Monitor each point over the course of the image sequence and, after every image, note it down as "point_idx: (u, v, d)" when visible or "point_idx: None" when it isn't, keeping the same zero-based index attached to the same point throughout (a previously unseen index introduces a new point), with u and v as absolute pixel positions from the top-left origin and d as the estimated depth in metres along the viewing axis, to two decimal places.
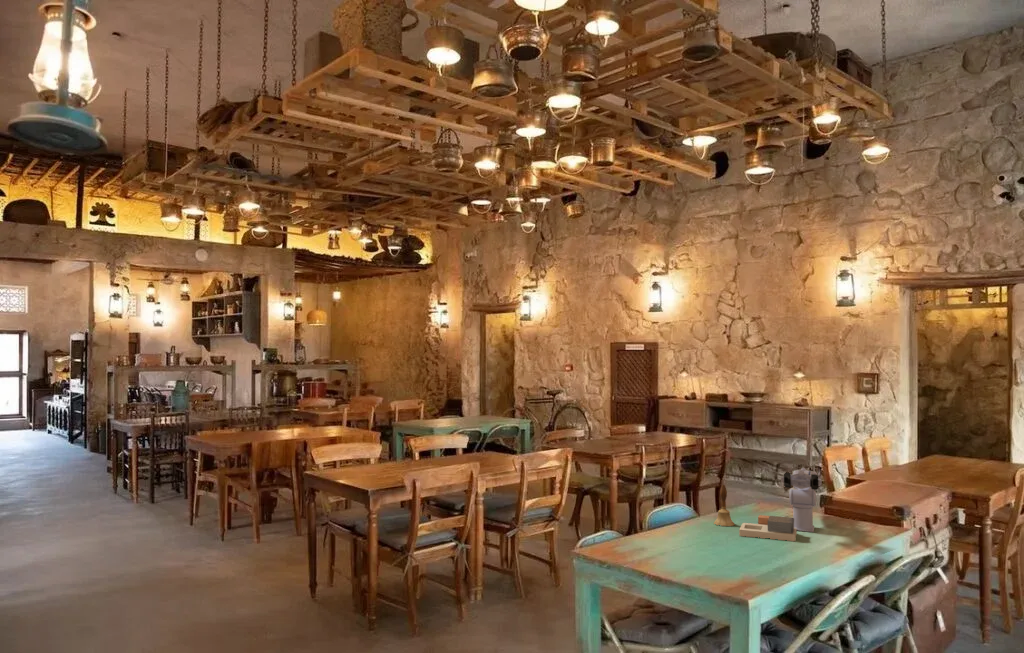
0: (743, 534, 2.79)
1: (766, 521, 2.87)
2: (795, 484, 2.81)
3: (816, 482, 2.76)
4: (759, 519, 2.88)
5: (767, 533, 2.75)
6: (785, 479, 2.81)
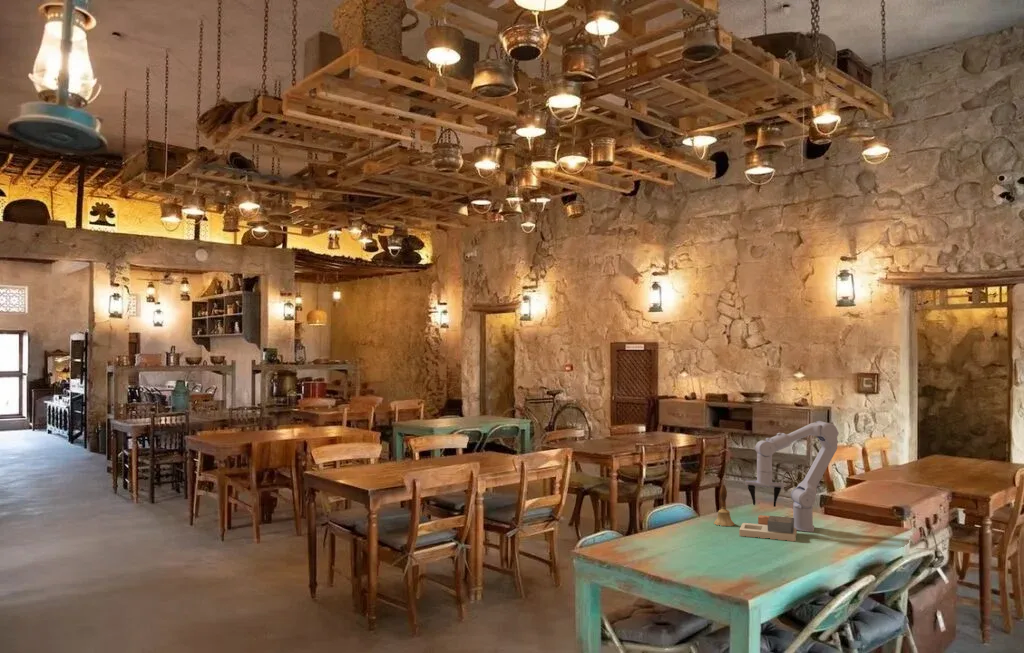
0: (743, 534, 2.79)
1: (766, 521, 2.87)
2: None
3: None
4: (759, 519, 2.88)
5: (767, 533, 2.75)
6: None
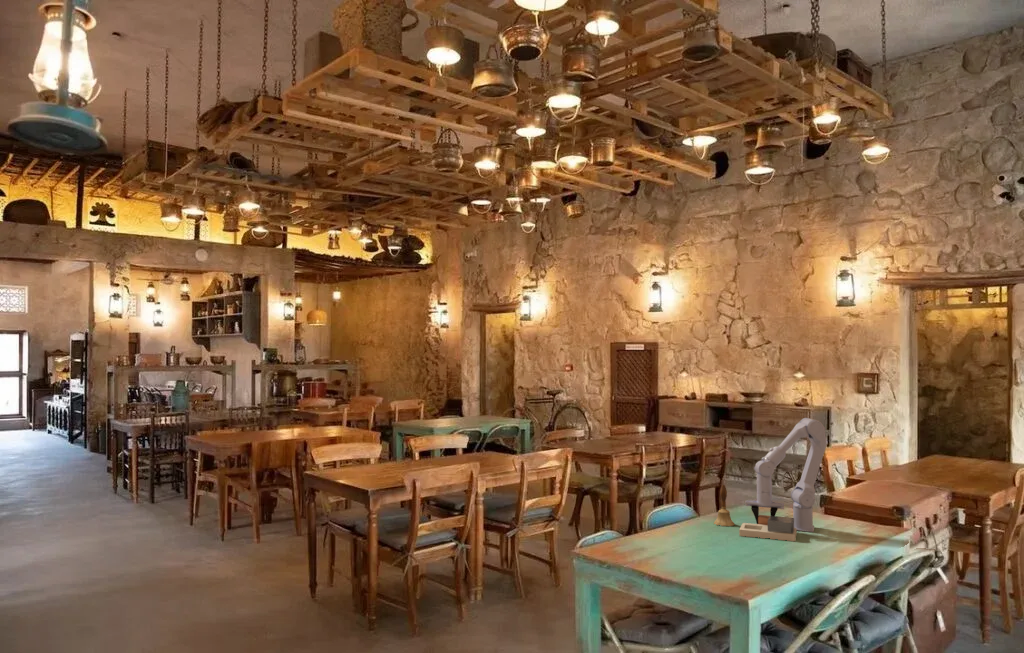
0: (743, 534, 2.79)
1: (766, 521, 2.87)
2: None
3: None
4: (759, 519, 2.88)
5: (767, 533, 2.75)
6: None
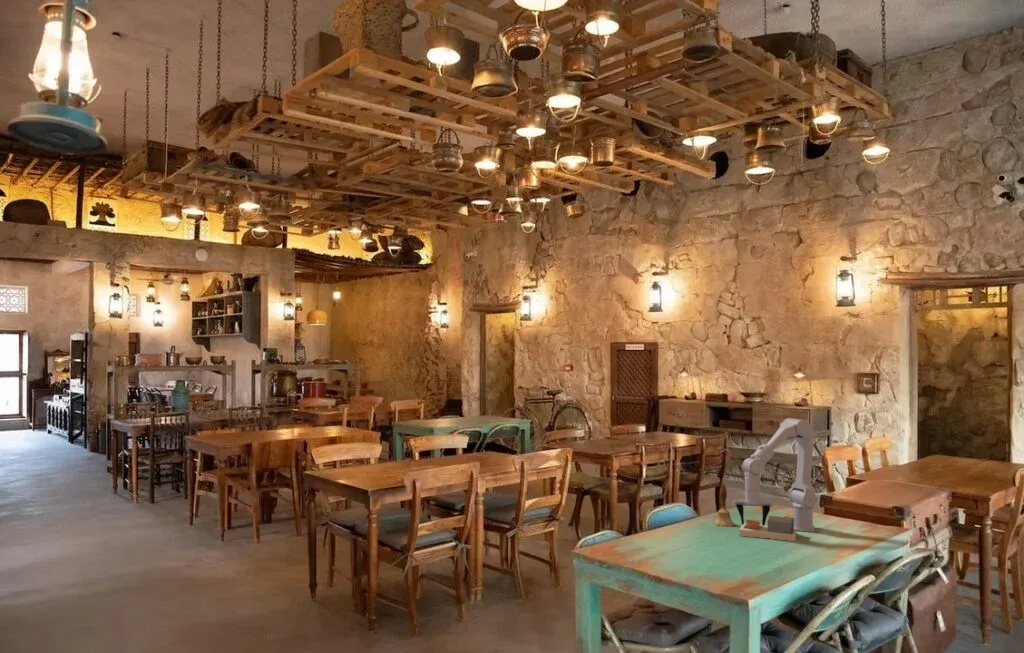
0: (743, 534, 2.79)
1: (756, 525, 2.81)
2: None
3: None
4: (748, 523, 2.81)
5: (767, 533, 2.75)
6: None
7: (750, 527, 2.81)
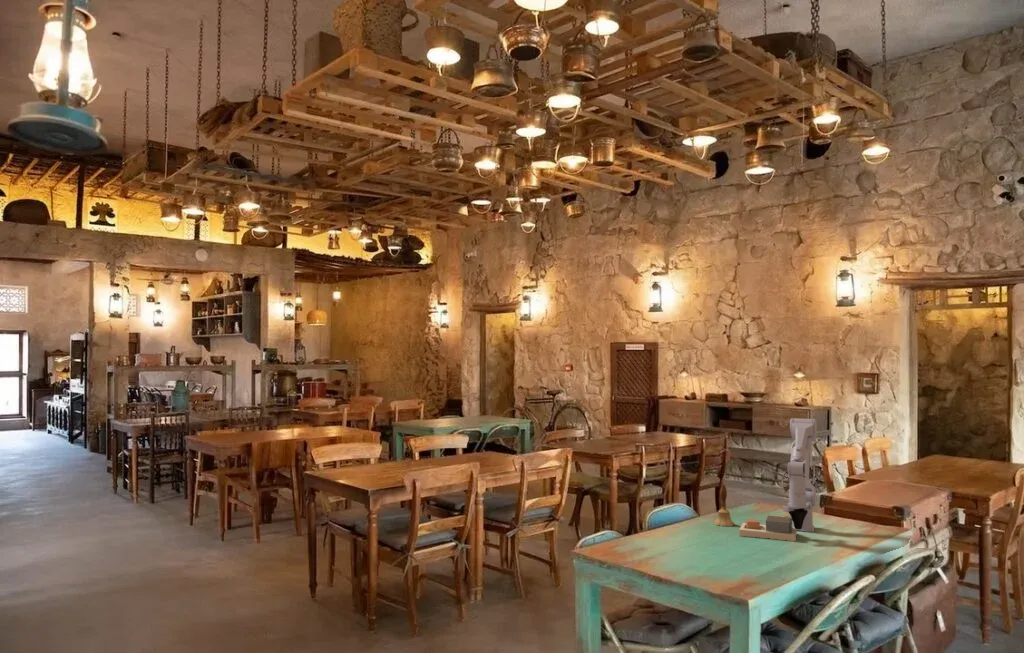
0: (743, 534, 2.79)
1: (756, 525, 2.81)
2: None
3: None
4: (748, 523, 2.81)
5: (767, 533, 2.75)
6: None
7: (750, 527, 2.81)
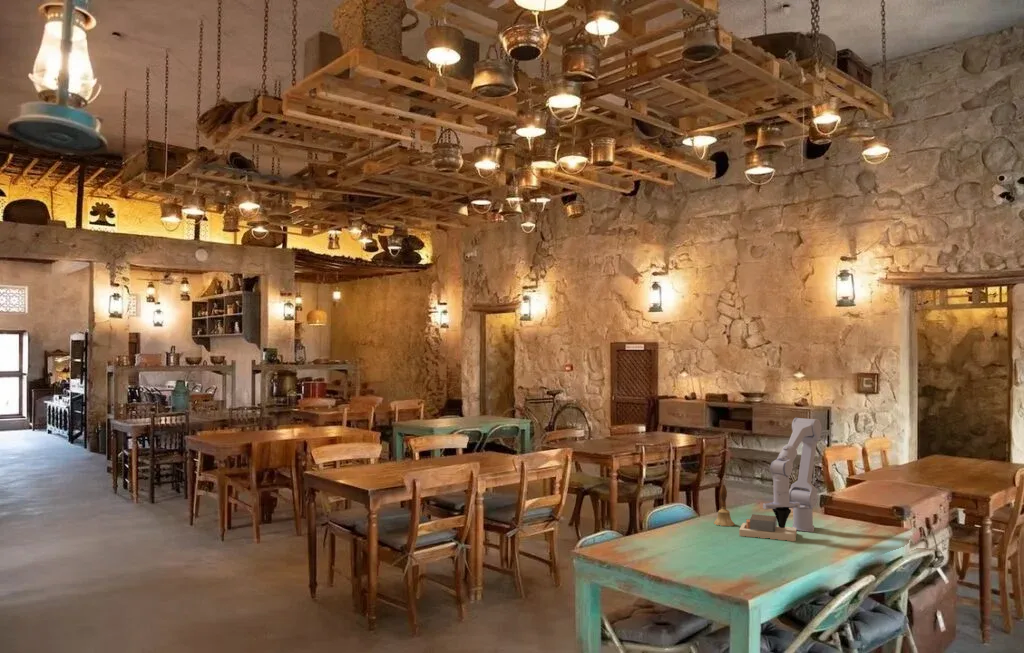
0: (743, 534, 2.79)
1: None
2: None
3: None
4: (748, 523, 2.81)
5: (767, 533, 2.75)
6: None
7: None
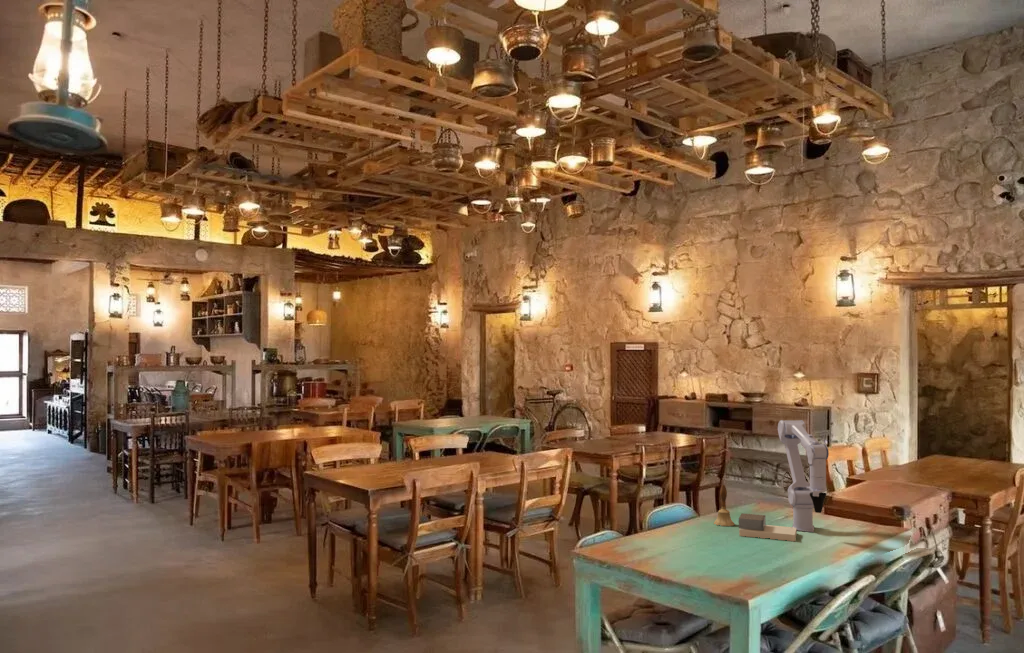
0: (743, 534, 2.79)
1: None
2: None
3: None
4: None
5: (767, 533, 2.75)
6: None
7: None
